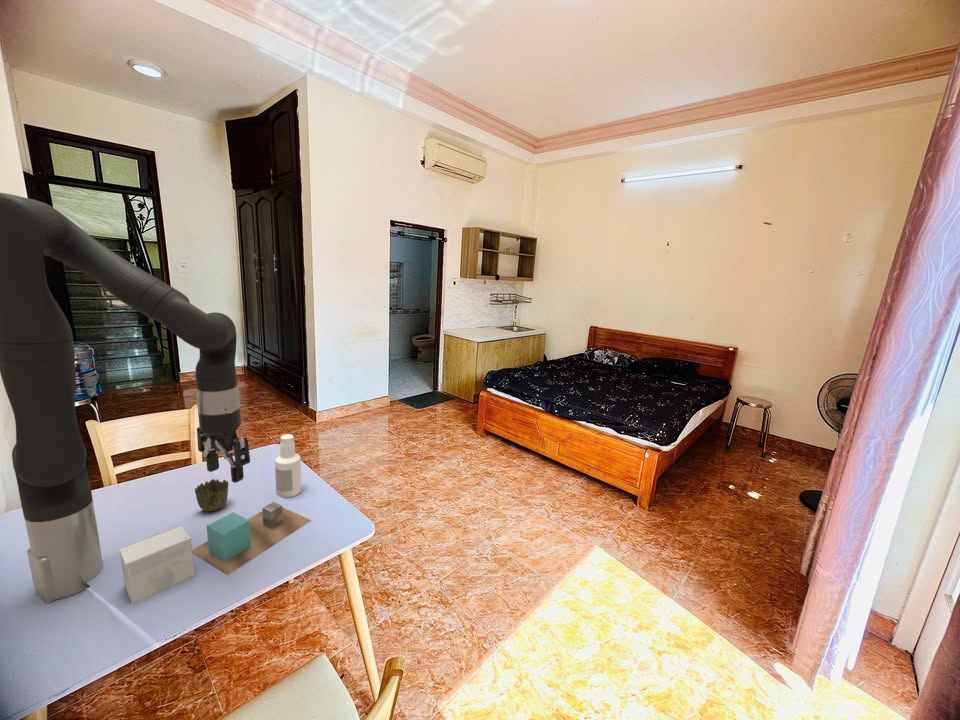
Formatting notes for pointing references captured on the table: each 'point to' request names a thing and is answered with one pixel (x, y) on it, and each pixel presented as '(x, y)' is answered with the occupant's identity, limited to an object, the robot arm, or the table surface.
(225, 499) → the bronze textured bowl
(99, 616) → the table surface
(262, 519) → the board
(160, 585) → the skincare box
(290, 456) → the spray bottle
